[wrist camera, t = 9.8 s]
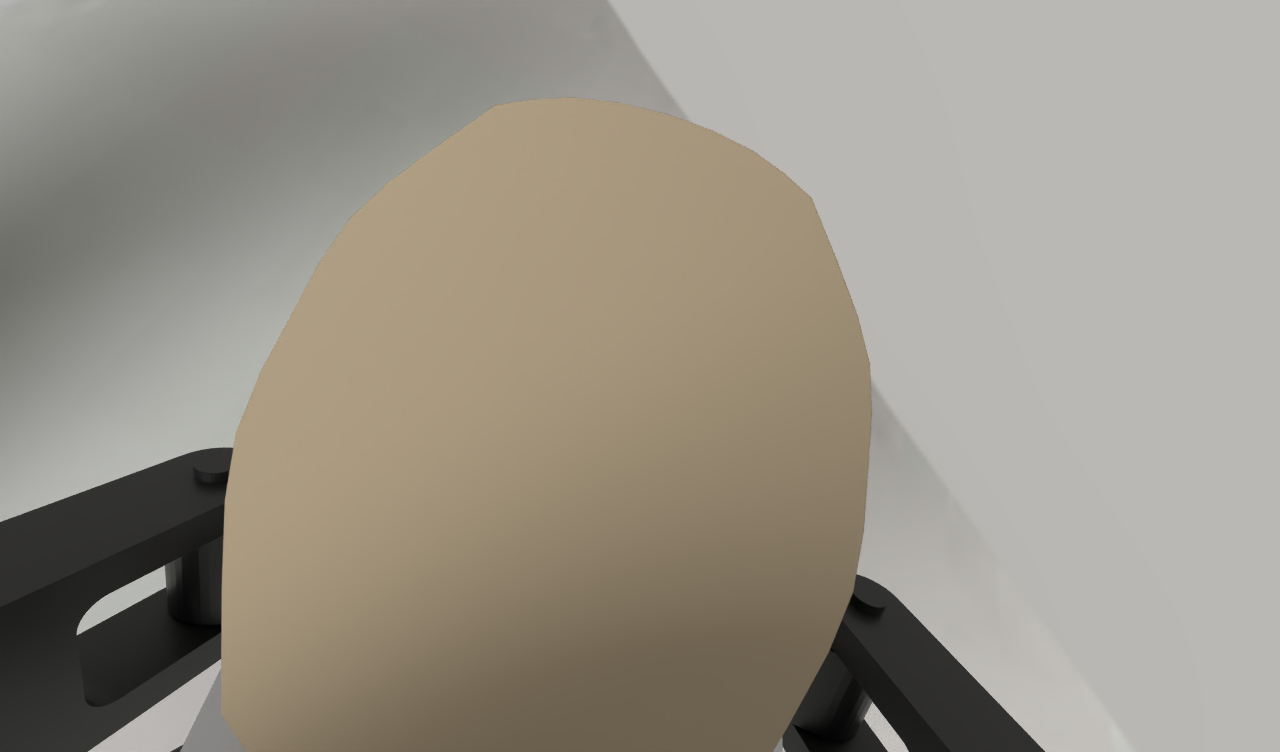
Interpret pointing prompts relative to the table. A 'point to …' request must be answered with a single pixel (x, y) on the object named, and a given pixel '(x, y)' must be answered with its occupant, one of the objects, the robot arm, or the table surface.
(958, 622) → the table surface
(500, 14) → the table surface
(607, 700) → the beige club-shaped piece
